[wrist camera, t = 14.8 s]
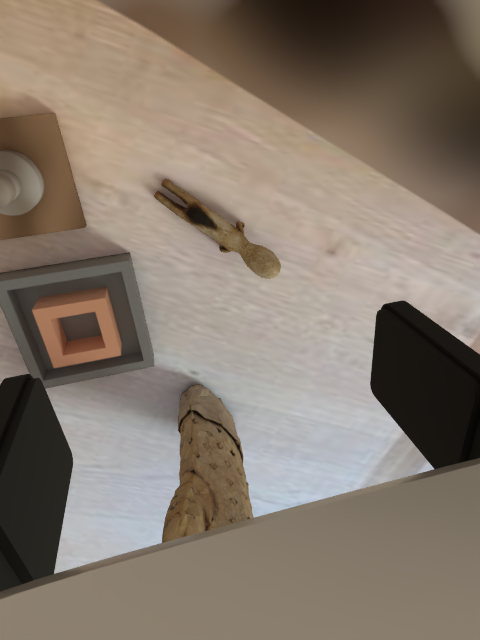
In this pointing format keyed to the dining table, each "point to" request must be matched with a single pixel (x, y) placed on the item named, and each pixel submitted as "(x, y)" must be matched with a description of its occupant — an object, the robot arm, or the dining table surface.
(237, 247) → the figurine
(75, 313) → the ring
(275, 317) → the dining table surface
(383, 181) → the dining table surface
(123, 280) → the tray
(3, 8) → the dining table surface
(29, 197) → the brown piece
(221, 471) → the tan log
